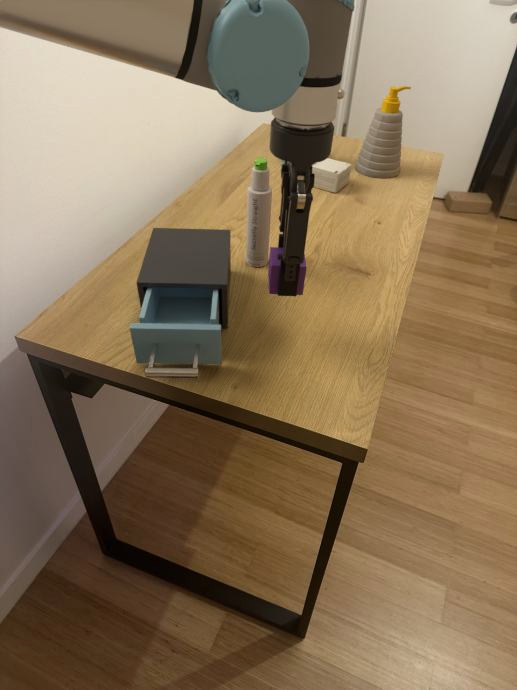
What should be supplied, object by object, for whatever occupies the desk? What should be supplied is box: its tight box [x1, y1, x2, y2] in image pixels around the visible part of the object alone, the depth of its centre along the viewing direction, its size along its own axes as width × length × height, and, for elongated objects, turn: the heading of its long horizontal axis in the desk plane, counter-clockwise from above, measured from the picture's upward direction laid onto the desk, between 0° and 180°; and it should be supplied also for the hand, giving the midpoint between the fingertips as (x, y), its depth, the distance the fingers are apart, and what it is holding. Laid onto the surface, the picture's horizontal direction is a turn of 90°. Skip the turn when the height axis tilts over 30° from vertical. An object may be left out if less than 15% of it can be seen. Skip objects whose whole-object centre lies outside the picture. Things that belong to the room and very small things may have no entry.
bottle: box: [245, 157, 273, 268], centre depth 85 cm, size 4×4×20 cm
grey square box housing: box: [136, 227, 232, 329], centre depth 79 cm, size 17×14×9 cm
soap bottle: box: [354, 85, 412, 179], centre depth 121 cm, size 12×12×20 cm
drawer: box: [129, 287, 223, 379], centre depth 70 cm, size 22×13×7 cm, turn 1°
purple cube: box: [267, 246, 308, 296], centre depth 68 cm, size 5×5×5 cm
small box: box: [312, 157, 352, 194], centre depth 117 cm, size 8×8×5 cm
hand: (285, 283), depth 70 cm, fingers closed on purple cube, 5 cm apart
